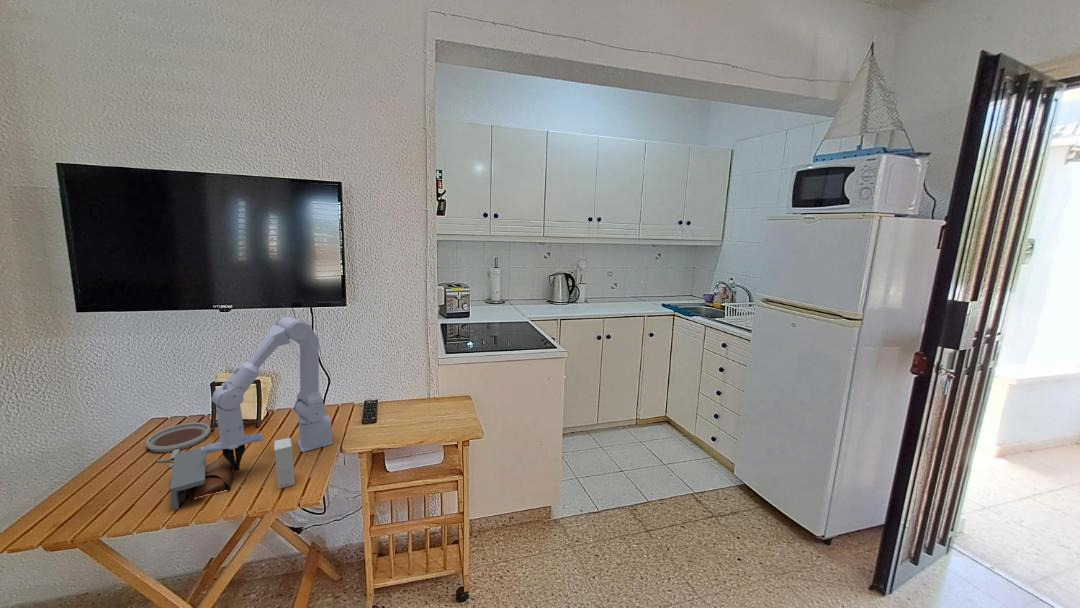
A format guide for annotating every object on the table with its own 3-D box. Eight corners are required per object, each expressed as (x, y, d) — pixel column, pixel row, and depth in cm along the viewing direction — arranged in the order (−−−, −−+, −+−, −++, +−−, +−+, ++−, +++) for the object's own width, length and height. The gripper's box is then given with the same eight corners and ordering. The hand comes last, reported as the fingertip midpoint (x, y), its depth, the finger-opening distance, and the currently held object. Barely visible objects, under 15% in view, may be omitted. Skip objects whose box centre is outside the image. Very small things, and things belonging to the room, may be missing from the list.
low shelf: (208, 465, 131) (205, 446, 129) (207, 500, 115) (204, 479, 114) (178, 472, 126) (175, 453, 125) (173, 510, 111) (170, 489, 110)
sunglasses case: (200, 467, 129) (212, 447, 130) (226, 472, 133) (237, 452, 134) (192, 501, 115) (205, 478, 115) (221, 505, 118) (234, 483, 119)
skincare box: (295, 484, 122) (291, 446, 120) (278, 489, 120) (274, 450, 118) (294, 473, 128) (290, 436, 125) (277, 478, 125) (273, 440, 123)
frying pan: (132, 471, 123) (149, 428, 146) (133, 480, 124) (150, 436, 147) (206, 454, 133) (212, 416, 155) (207, 463, 133) (213, 424, 156)
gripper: (198, 440, 116) (205, 484, 119) (262, 425, 125) (266, 467, 128) (199, 429, 122) (205, 472, 125) (259, 416, 130) (264, 457, 133)
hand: (236, 469), depth 127 cm, fingers closed
